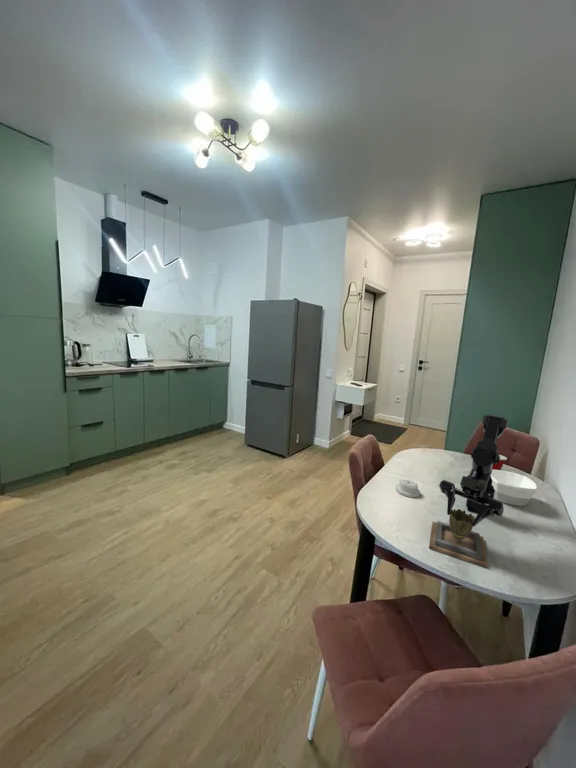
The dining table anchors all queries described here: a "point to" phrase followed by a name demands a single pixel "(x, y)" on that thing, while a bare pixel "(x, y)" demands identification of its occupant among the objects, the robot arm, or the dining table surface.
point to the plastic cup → (500, 464)
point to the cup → (460, 523)
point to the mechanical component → (407, 488)
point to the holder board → (458, 544)
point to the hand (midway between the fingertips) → (460, 520)
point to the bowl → (512, 487)
